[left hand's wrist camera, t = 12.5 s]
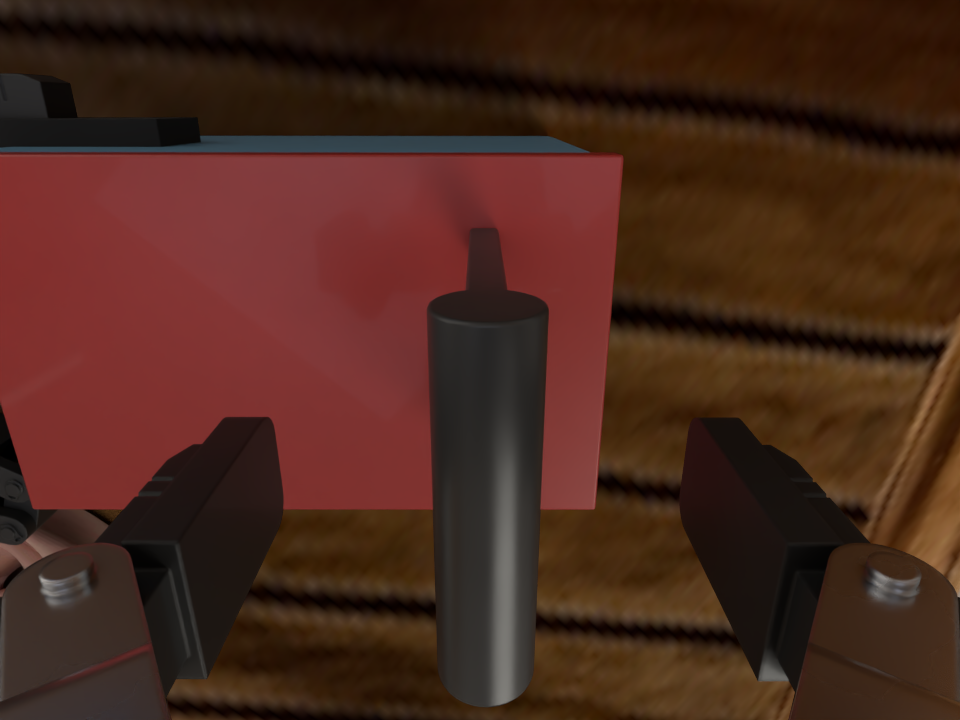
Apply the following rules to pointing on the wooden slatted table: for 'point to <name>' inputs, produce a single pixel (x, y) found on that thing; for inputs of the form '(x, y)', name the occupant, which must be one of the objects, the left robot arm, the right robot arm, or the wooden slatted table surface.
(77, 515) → the anatomical model
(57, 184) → the lid
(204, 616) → the left robot arm
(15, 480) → the right robot arm
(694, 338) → the wooden slatted table surface
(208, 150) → the chest
